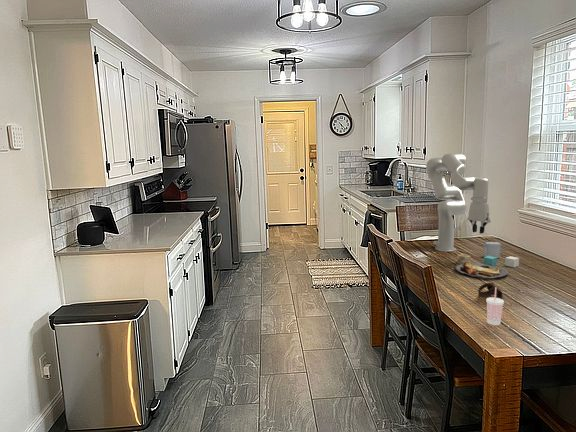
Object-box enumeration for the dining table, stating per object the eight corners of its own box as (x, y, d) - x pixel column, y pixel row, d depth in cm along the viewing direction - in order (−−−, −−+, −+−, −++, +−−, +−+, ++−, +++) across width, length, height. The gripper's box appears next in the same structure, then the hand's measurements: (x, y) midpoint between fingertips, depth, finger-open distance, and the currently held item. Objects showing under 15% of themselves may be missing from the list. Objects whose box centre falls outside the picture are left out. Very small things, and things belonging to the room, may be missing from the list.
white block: (504, 265, 240) (505, 257, 239) (509, 264, 243) (510, 256, 242) (513, 267, 236) (514, 259, 235) (518, 265, 239) (519, 258, 238)
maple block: (457, 263, 246) (457, 255, 245) (462, 261, 249) (462, 254, 248) (465, 265, 242) (465, 257, 241) (470, 263, 245) (470, 255, 244)
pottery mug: (505, 305, 183) (496, 290, 182) (483, 311, 188) (474, 296, 187) (505, 290, 193) (496, 275, 192) (483, 295, 198) (475, 281, 197)
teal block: (483, 265, 242) (483, 257, 241) (488, 263, 245) (488, 255, 244) (491, 266, 238) (492, 259, 237) (496, 265, 241) (497, 257, 240)
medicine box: (497, 256, 258) (498, 242, 257) (500, 258, 254) (501, 244, 253) (483, 256, 259) (484, 242, 258) (486, 258, 255) (487, 243, 253)
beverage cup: (505, 323, 165) (508, 287, 162) (497, 327, 161) (499, 291, 159) (490, 318, 170) (492, 283, 167) (481, 321, 166) (483, 287, 164)
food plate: (447, 273, 228) (448, 266, 227) (464, 264, 244) (465, 258, 244) (498, 284, 211) (498, 277, 210) (512, 273, 228) (513, 267, 227)
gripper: (462, 199, 246) (461, 231, 249) (490, 202, 233) (488, 235, 236) (470, 198, 250) (468, 229, 254) (498, 201, 237) (495, 234, 240)
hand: (478, 232), depth 245 cm, fingers open, 3 cm apart
